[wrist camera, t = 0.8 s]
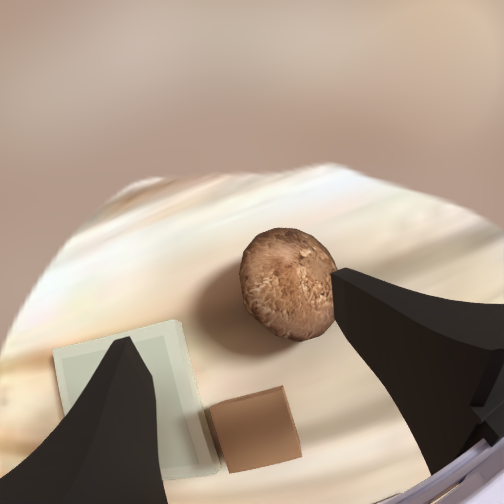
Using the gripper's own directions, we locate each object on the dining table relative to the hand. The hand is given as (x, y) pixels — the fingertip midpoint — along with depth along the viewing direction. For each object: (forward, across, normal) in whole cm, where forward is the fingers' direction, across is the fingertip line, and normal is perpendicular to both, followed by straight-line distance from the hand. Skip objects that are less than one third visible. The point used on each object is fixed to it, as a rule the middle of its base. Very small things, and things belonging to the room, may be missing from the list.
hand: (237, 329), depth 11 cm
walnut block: (+6, 0, +14) cm, 15 cm away
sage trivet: (+9, +10, +12) cm, 18 cm away
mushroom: (+12, -5, +7) cm, 15 cm away
